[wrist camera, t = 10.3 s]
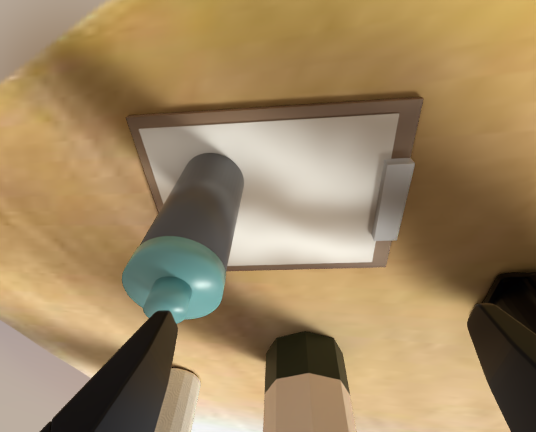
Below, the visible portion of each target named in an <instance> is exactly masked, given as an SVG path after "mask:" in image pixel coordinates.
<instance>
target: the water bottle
mask: <svg viewBox="0 0 536 432" xmlns="http://www.w3.org/2000/svg"><path fill="white" fill-rule="evenodd" d="M243 188H244V178H243V174H242V172H241V170H240V168H239V167H238V166H237V165H236V164H235V163H234V162H233V161H232V160H231V159H229V158H228V157H226V156H223V155H221V154H217V153H204V154H200V155H197V156H195V157H194V158H192V159H191V160H190V161H189V162H188V164H187V165H186V167H185V169H184V170H183V172H182V174H181V175H180V177H179V179H178V181H177V182H176V184H175V186H174V187H173V189H172V191H171V193H170V194H169V196H168V198H167V200H166V201H165V203H164V205H163V206H162V208H161V210H160V212H159V213H158V215H157V217H156V218H155V220H154V222H153V224H152V225H151V227H150V229H149V230H148V232H147V234H146V236H145V237H144V239H143V241H142V243H141V244H140V246H139V247H138V248H137V249H136V251H135V252H134V254H133V255H132V257H131V259H130V261H129V262H128V264H127V266H126V267H125V269H124V271H123V275H122V283H123V287H124V289H125V291H126V292H127V294H128V295H129V297H130V298H131V299H132V300H133V301H134V302H135V303H137V304H138V305H139V306H141V307H142V308H143V311H144V313H145V315H146V316H147V317H148V318H150V317H151V316H152V315H153V314H154V313H155V312H156V311H159V310H169V311H170V312H171V313H172V315H173V317H174V320H175V322H176V324H178V323H180V322H182V321H183V320H184V319H195V318H200V317H203V316H206V315H208V314H210V313H211V312H213V311H214V310H215V309H216V308H217V307H218V306H219V304H220V302H221V300H222V295H223V290H224V285H225V281H226V270H227V265H228V260H229V256H230V251H231V246H232V241H233V236H234V231H235V227H236V222H237V217H238V212H239V207H240V202H241V198H242V193H243Z"/></svg>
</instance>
